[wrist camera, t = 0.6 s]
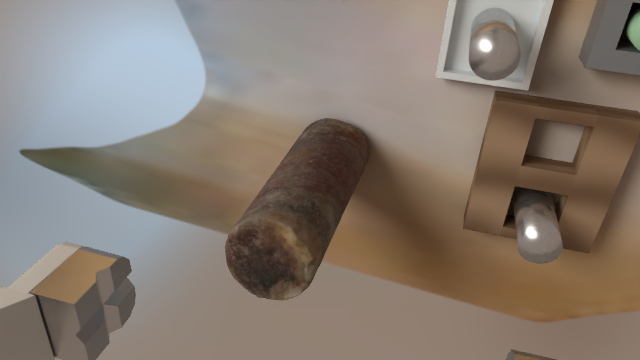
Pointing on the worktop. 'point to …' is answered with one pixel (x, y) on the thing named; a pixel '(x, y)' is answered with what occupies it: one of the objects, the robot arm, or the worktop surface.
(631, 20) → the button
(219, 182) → the worktop surface
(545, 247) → the seated billet
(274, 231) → the brown rounded piece
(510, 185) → the wooden holder frame
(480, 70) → the cylinder
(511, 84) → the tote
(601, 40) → the grey square holed block
